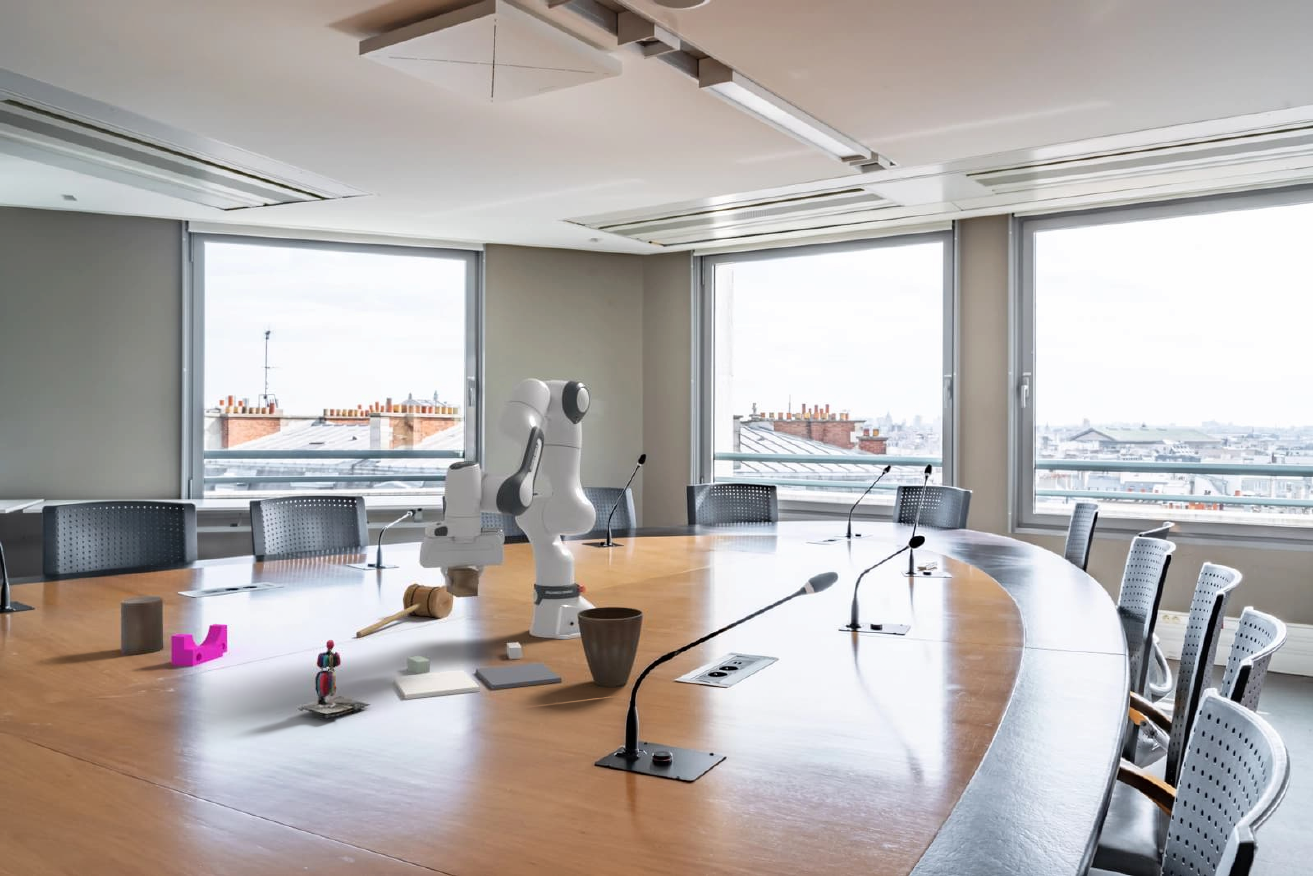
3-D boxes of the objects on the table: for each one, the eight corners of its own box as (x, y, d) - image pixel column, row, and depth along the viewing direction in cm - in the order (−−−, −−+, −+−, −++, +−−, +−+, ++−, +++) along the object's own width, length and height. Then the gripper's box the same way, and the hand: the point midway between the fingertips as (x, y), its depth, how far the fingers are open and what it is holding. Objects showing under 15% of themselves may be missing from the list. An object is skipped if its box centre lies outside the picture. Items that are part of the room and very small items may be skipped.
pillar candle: (169, 652, 248) (168, 594, 248) (128, 658, 241) (128, 599, 241) (155, 646, 254) (154, 590, 254) (114, 652, 247) (114, 594, 247)
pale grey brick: (506, 654, 246) (506, 643, 246) (518, 654, 247) (518, 642, 247) (509, 660, 241) (509, 648, 241) (521, 659, 241) (521, 647, 241)
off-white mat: (463, 674, 225) (463, 670, 225) (479, 691, 211) (479, 686, 211) (393, 681, 219) (393, 677, 219) (405, 699, 204) (405, 694, 204)
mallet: (342, 650, 266) (339, 615, 265) (422, 610, 301) (420, 579, 300) (378, 654, 262) (375, 618, 261) (455, 613, 296) (453, 582, 295)
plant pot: (593, 694, 208) (593, 621, 208) (567, 679, 221) (567, 610, 221) (654, 686, 215) (654, 615, 215) (625, 671, 228) (625, 604, 228)
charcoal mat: (540, 666, 233) (540, 662, 233) (561, 682, 219) (561, 677, 219) (475, 673, 227) (475, 668, 227) (492, 689, 212) (492, 685, 212)
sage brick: (407, 669, 230) (407, 657, 230) (418, 668, 232) (418, 655, 232) (418, 674, 226) (418, 662, 226) (429, 672, 228) (429, 660, 228)
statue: (327, 723, 188) (327, 647, 188) (296, 716, 193) (296, 641, 193) (370, 710, 197) (370, 637, 197) (340, 703, 202) (340, 632, 202)
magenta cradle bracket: (192, 668, 232) (192, 637, 232) (171, 666, 233) (171, 636, 233) (235, 654, 246) (235, 625, 246) (215, 653, 248) (215, 624, 248)
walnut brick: (466, 590, 238) (466, 566, 238) (477, 596, 229) (478, 571, 229) (446, 591, 236) (446, 567, 236) (457, 597, 227) (457, 572, 227)
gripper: (501, 526, 240) (500, 581, 239) (418, 528, 231) (417, 585, 231) (507, 528, 234) (507, 584, 234) (423, 530, 226) (422, 588, 225)
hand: (462, 585), depth 232 cm, fingers closed on walnut brick, 5 cm apart
